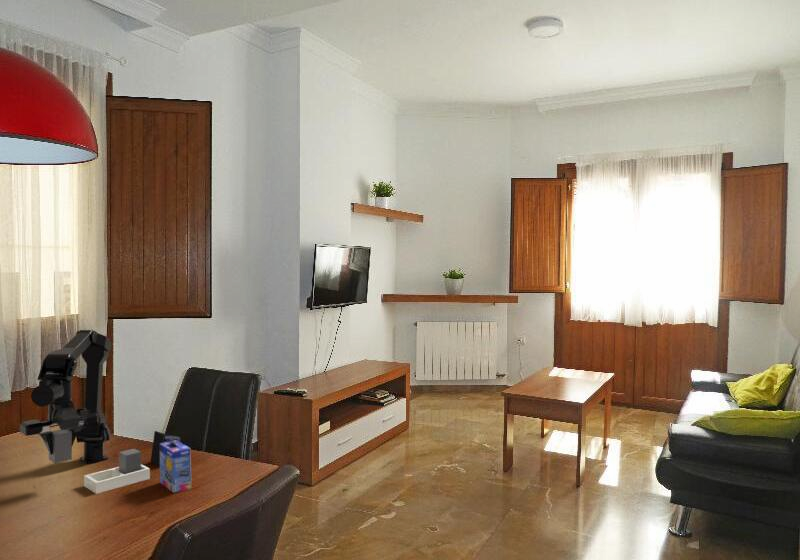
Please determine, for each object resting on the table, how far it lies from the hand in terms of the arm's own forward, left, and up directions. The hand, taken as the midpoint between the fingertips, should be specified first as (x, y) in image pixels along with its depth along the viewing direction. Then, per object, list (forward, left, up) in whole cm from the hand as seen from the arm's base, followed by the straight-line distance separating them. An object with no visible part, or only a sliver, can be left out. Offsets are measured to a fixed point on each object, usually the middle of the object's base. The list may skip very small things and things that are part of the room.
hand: (60, 452), depth 167 cm
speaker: (+3, +30, -10) cm, 32 cm away
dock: (+9, +12, -10) cm, 18 cm away
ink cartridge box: (+23, +22, -10) cm, 33 cm away
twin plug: (+9, +16, -10) cm, 20 cm away
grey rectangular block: (0, 0, -2) cm, 2 cm away
